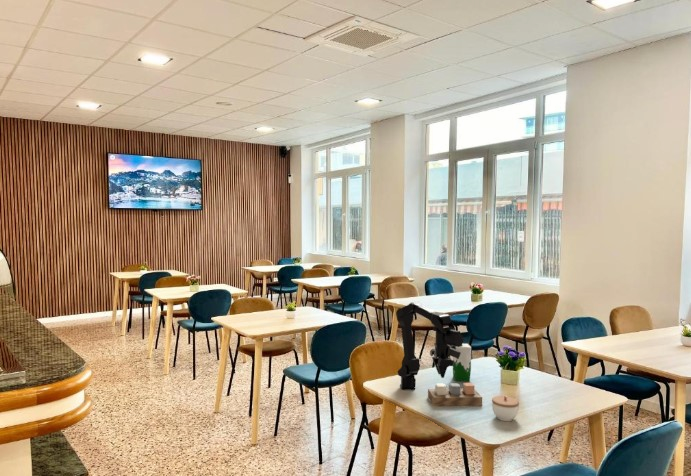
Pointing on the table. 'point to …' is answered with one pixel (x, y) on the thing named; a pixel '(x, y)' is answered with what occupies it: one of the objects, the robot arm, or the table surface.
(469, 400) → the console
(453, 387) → the grey cube
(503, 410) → the lidded jar
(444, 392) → the ivory key
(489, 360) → the table surface
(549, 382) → the table surface
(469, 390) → the orange cube
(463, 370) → the milk carton
